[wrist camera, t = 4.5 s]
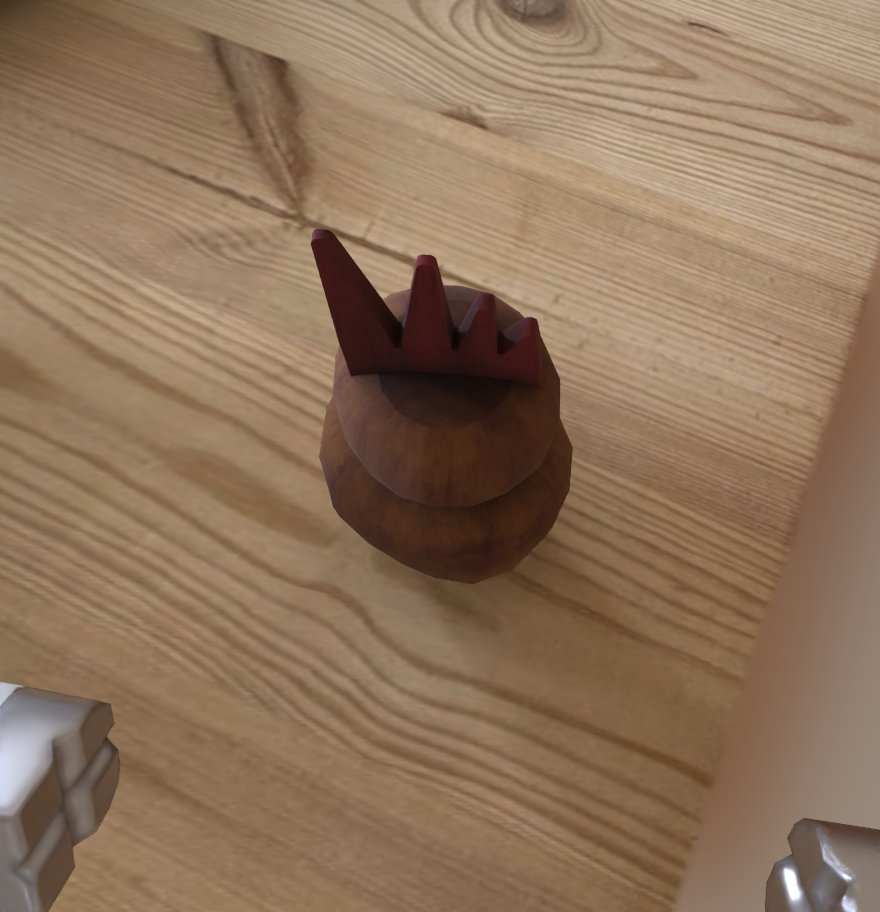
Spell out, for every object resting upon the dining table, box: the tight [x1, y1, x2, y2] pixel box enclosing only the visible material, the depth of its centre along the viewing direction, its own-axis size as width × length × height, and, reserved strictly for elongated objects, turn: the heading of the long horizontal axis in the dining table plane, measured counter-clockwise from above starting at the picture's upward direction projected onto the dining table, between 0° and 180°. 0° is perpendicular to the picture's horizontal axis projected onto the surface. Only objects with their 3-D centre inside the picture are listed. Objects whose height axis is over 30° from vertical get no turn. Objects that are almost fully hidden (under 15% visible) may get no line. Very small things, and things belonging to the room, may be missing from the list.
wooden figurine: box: [311, 229, 573, 584], centre depth 18 cm, size 7×6×15 cm
